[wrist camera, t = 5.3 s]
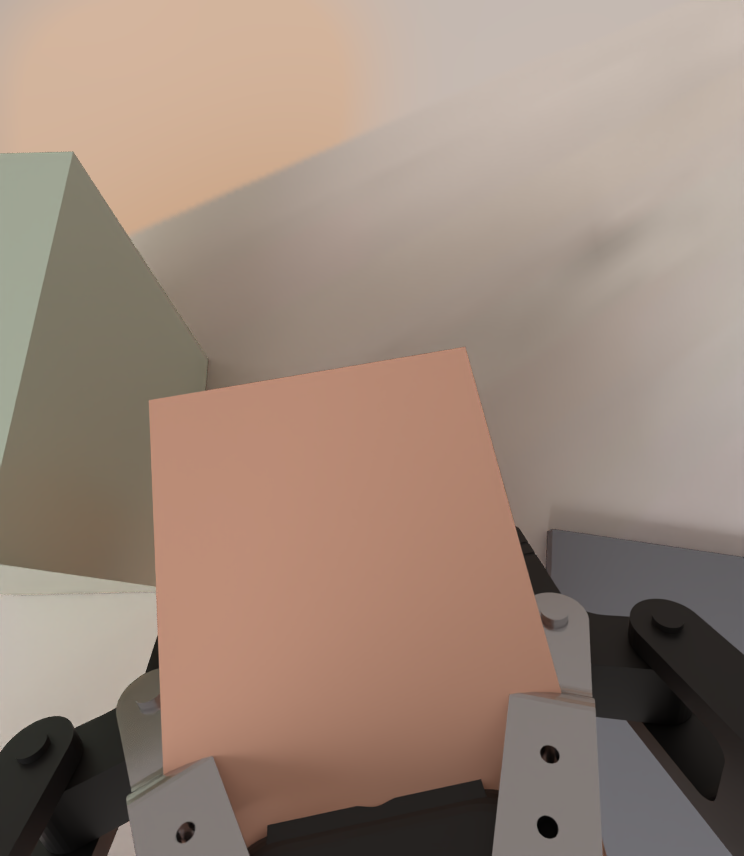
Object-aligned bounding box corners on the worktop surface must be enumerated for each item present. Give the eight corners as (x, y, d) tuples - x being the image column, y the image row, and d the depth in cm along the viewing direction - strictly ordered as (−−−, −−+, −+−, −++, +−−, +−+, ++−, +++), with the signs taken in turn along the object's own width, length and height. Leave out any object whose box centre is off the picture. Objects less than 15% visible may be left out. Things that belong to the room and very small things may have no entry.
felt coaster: (535, 872, 15) (541, 881, 15) (547, 531, 19) (552, 528, 18) (893, 939, 15) (914, 952, 14) (838, 574, 18) (853, 573, 17)
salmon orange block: (483, 753, 16) (629, 940, 7) (293, 794, 16) (174, 1047, 7) (422, 478, 19) (465, 346, 10) (261, 507, 19) (148, 400, 10)
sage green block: (186, 591, 18) (-22, 561, 9) (13, 595, 18) (-383, 570, 9) (208, 359, 21) (73, 151, 12) (60, 362, 21) (-193, 158, 12)
